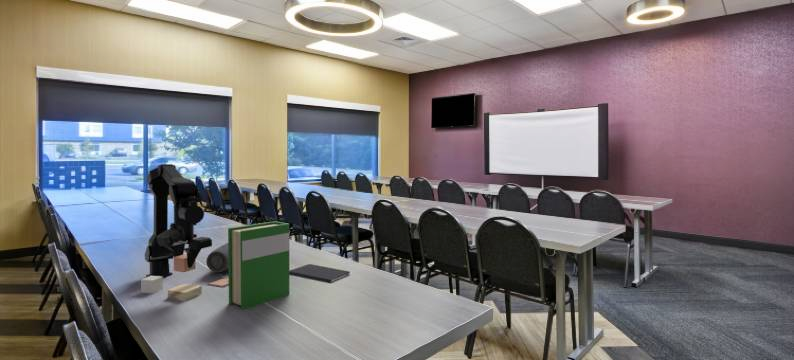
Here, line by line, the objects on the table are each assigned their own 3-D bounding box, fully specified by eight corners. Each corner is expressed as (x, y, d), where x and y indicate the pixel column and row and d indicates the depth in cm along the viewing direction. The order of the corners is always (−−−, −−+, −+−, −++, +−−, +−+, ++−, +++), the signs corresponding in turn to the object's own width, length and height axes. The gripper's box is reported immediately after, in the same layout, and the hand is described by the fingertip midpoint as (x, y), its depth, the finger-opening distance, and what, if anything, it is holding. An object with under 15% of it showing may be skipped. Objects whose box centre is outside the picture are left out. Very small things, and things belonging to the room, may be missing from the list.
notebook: (287, 274, 165) (331, 284, 154) (287, 271, 165) (331, 279, 154) (309, 267, 176) (351, 275, 166) (309, 263, 176) (351, 271, 165)
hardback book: (242, 309, 127) (242, 231, 125) (228, 304, 131) (228, 228, 130) (289, 294, 141) (289, 223, 139) (275, 289, 145) (275, 221, 144)
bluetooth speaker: (229, 275, 160) (228, 250, 160) (205, 275, 161) (204, 249, 160) (251, 260, 183) (250, 237, 182) (229, 260, 183) (229, 237, 183)
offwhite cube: (141, 292, 140) (140, 279, 140) (150, 288, 145) (150, 275, 144) (153, 293, 140) (153, 280, 139) (162, 289, 144) (162, 276, 144)
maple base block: (167, 299, 136) (167, 289, 135) (185, 292, 142) (185, 283, 142) (184, 301, 133) (184, 292, 133) (201, 294, 140) (201, 286, 140)
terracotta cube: (173, 270, 136) (173, 257, 136) (185, 267, 140) (185, 253, 140) (184, 272, 134) (183, 258, 134) (195, 268, 139) (195, 255, 138)
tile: (207, 284, 149) (207, 283, 149) (222, 279, 156) (222, 278, 156) (222, 287, 147) (222, 286, 147) (236, 281, 153) (236, 280, 153)
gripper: (140, 220, 132) (141, 269, 133) (183, 226, 125) (184, 277, 126) (171, 216, 143) (172, 261, 144) (213, 220, 135) (213, 268, 137)
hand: (184, 266), depth 137 cm, fingers closed on terracotta cube, 4 cm apart
